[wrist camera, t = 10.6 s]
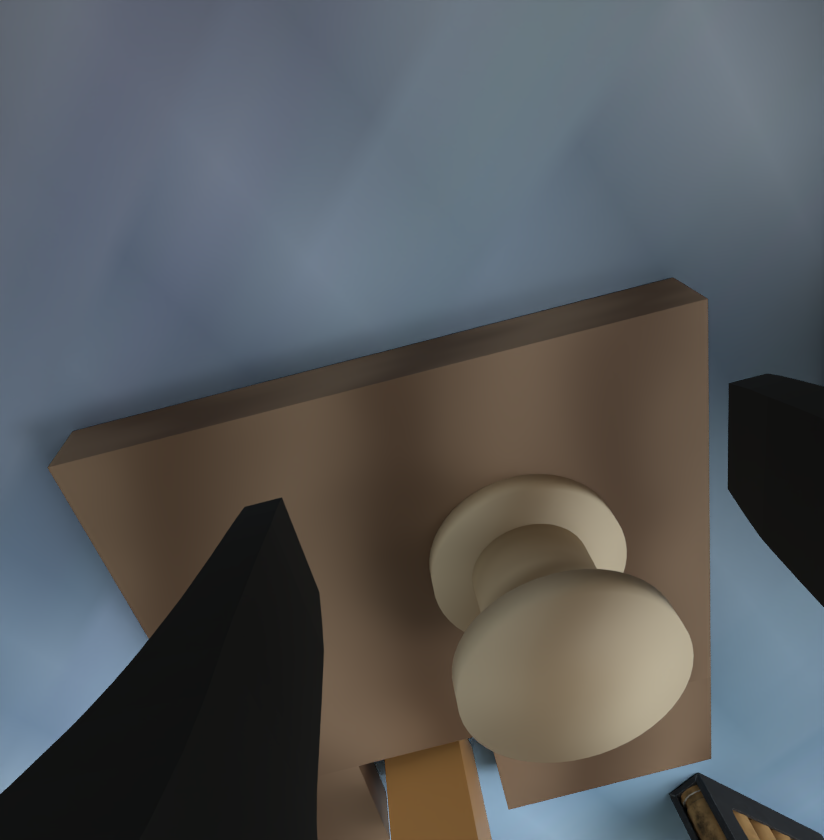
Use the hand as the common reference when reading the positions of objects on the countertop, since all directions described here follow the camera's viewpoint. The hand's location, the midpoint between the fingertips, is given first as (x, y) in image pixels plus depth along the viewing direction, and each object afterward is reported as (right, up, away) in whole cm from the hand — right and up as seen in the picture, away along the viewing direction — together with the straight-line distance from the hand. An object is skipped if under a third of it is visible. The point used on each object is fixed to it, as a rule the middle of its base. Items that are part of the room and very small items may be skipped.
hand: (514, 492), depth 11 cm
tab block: (-1, -12, +17) cm, 21 cm away
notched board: (-1, -5, +13) cm, 15 cm away
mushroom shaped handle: (+2, -3, +10) cm, 11 cm away
